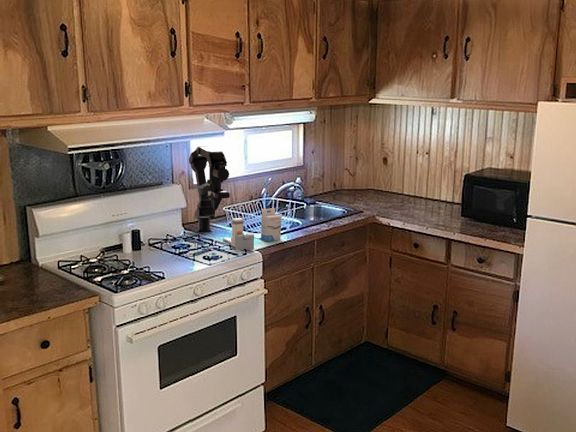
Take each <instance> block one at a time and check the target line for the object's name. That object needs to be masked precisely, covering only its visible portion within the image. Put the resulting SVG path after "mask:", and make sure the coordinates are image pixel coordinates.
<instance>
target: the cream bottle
mask: <svg viewBox="0 0 576 432" xmlns="http://www.w3.org/2000/svg"><path fill="white" fill-rule="evenodd" d="M231 220H232V221H231V225H232V226H231V227H232V228H231V244H230V246H231V247H234V248H235V235H237V232H238V231H241V232H242V233H244V223H245V221H244V219H243V218H241V217H238V218H235V217H234V218H232V219H231Z"/></svg>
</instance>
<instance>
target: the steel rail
mask: <svg viewBox="0 0 576 432" xmlns="http://www.w3.org/2000/svg"><path fill="white" fill-rule="evenodd" d="M231 238H232V237H231ZM231 238H230V237H224V238H222V241H223V242H224V243H227V244H229V245H231Z"/></svg>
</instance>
